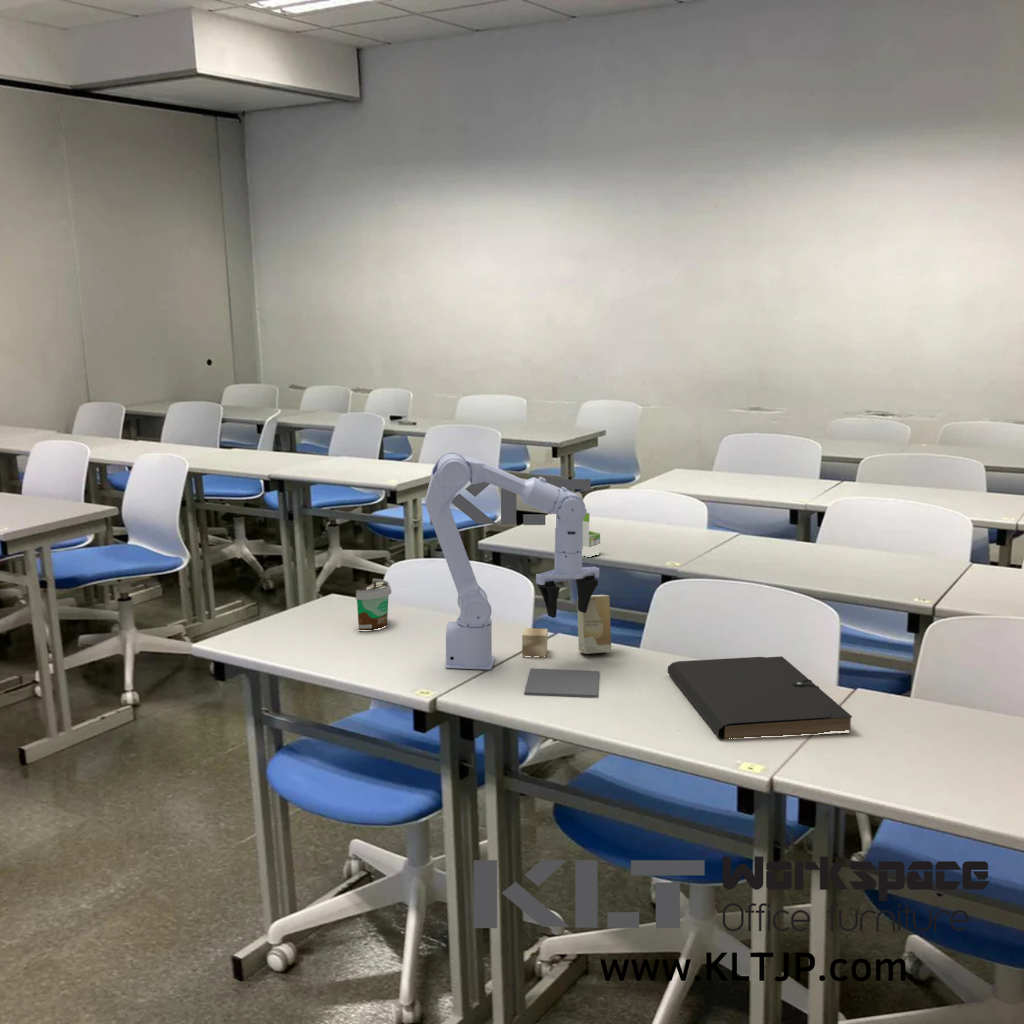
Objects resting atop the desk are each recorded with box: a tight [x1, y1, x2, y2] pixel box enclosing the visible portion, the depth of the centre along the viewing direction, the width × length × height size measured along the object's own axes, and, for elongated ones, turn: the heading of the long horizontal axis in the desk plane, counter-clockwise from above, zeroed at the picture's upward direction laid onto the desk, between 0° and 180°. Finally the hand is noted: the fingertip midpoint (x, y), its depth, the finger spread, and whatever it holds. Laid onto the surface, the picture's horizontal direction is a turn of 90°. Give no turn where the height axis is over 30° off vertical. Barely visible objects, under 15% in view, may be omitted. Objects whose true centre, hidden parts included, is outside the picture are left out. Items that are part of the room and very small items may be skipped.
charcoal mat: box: [523, 667, 600, 698], centre depth 205 cm, size 14×14×1 cm
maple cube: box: [521, 627, 549, 658], centre depth 223 cm, size 5×5×5 cm
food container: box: [355, 578, 392, 631], centre depth 242 cm, size 12×6×10 cm, turn 168°
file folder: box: [667, 656, 853, 740], centre depth 196 cm, size 33×4×24 cm
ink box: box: [582, 512, 601, 547], centre depth 318 cm, size 10×5×14 cm, turn 43°
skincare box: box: [576, 594, 612, 655], centre depth 224 cm, size 6×4×12 cm
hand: (567, 614), depth 218 cm, fingers open, 7 cm apart
